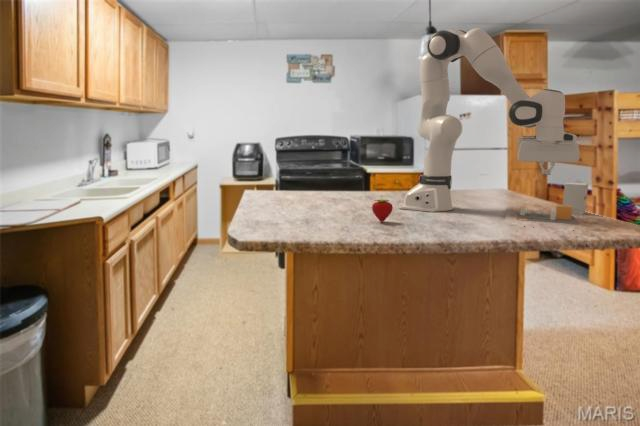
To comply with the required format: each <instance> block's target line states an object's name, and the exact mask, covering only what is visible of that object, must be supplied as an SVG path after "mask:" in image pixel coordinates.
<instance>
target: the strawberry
mask: <svg viewBox="0 0 640 426" xmlns="http://www.w3.org/2000/svg"><path fill="white" fill-rule="evenodd" d="M382 197H383V195H381V196H380V199H374V201H376V202H373V204H372V206H371V210H372V212H373V214H374V216H375V217H376V218H377V219H378V221H379V222H380V223H384V222H385V220H386V219H387V218H388V217H389V216H390V215H391V213H392V212H393V204H392V203H391V202H389V201H390V200H389V199H383V198H382Z"/></svg>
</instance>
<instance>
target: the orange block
mask: <svg viewBox="0 0 640 426" xmlns="http://www.w3.org/2000/svg"><path fill="white" fill-rule="evenodd" d="M555 210H556V219H571V217H572V216H573V214H572V206H571V205H563V204H556V205H555Z"/></svg>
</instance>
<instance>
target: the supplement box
mask: <svg viewBox="0 0 640 426" xmlns="http://www.w3.org/2000/svg"><path fill="white" fill-rule="evenodd" d="M588 189H589V183H587V182H586V183H585V182H583V183H582V182H567V183H565V184H564V189H563V190H564V191H563V200H562V205H571V206H572V215H579V216H583V215H584V214H586V207H587V199H588V198H587V197H588Z"/></svg>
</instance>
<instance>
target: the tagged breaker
mask: <svg viewBox="0 0 640 426" xmlns="http://www.w3.org/2000/svg"><path fill="white" fill-rule="evenodd" d="M549 215H550V220H555V217H556V209H550V214H549Z"/></svg>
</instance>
